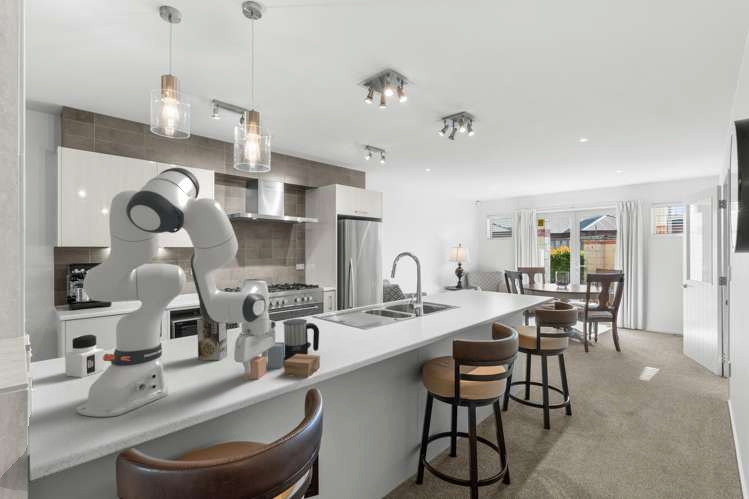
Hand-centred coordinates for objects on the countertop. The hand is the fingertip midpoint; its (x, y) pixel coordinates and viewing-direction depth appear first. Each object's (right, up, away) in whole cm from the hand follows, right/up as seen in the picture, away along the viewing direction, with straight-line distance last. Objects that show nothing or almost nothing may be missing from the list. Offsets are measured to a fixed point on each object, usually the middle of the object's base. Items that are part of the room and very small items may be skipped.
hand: (256, 367), depth 124 cm
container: (-61, -3, +4) cm, 61 cm away
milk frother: (+9, -3, +23) cm, 25 cm away
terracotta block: (0, -3, +1) cm, 3 cm away
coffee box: (-24, -3, +21) cm, 32 cm away
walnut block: (+15, -3, +5) cm, 16 cm away
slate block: (+4, -3, +11) cm, 12 cm away
